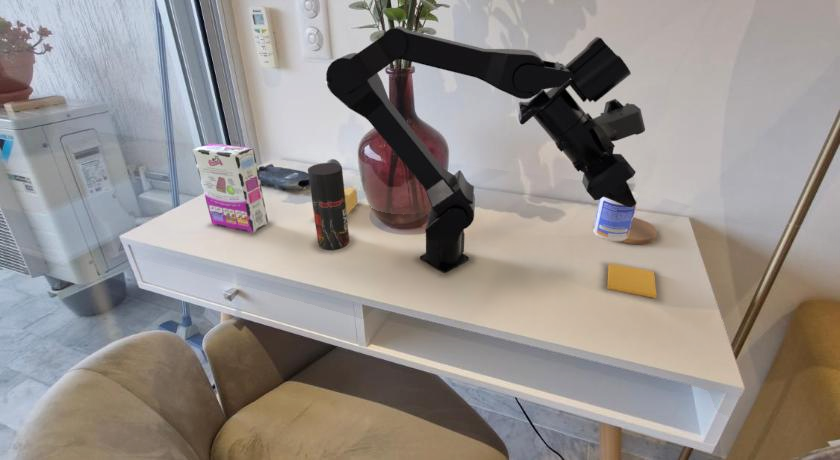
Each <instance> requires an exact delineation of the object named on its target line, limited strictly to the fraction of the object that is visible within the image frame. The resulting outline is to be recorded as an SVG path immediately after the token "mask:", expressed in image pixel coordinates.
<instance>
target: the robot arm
mask: <svg viewBox="0 0 840 460" xmlns="http://www.w3.org/2000/svg"><path fill="white" fill-rule="evenodd" d="M397 60H402V61H407V62H410V63H416V64H419V65H424V66H427V67H431V68H435V69H439V70H444V71H448V72H450V73H455V74H460V75H463V76H464V75H465V76H467V77H472V78H476V79H477V80H480V81H482V82H485V83H486V84H489V85H490V86H491V87H493V88H496V89H497V90H498V91H502V92H504V93H506V94H507V95H510V96H513V97H515V98H517V99H520V100H523V99H524V100H528V99H530V100H529V101H518V108H519V111H518V116H517V117H518V122H519V124H520V125H525V124H526V123H527V122H528V121H530V120H531V119H532V118H534V120H535V121H536V122H537V123H538V124H539V126H541V128H542V129H543V130H544V131H545V133H546V134H547V135H548V136H549V137H550V139H551V140H552V141H553V142H554V145H555V146H556V147H557V149H558V150H559V151H560V152H561V153H563V154H564V155H565V156H566V157H567V158H568V159H569V161H570V162H571V164H572V166H573V167H574V169H575V170H576V171H577V172H578V173H579V172H582V173H583V176H582V181H581V182H582V185H583V187H584V189H585V191H586V192H587V194H589V196H590V197H591V198H592V199H593V201H599V200H600V199H601V198H603V197H605V198H608V199H610V200H613V201H615V202H618V203H620V204H622V205H625V206H627V207H632V206H634V205H636V206H637V204H636V201H635V199H634V197H633V194H632V192H631V190H630V188H629V186H628V184H627V180H629V179H630V178H632V177H634V176H635V174H636V173H637V172H636V170H635V169H634V168H633V167H632V165H631V164H630V163H629V162H628V160H627V159H626V158H625V157H624V155H623V154H622V153H614V150H615V147H616V145H615V144H614V142H617V141H620V140H623V139H626V138H628V137H631V136H634V135H636V136H638V135H640V134H643V133H644V132H645V131H646V126H645V122H644V119H643V114H642V109H641V107H638V106H637V105H636V104H634V103H629V102H627V103H625V105H623V104H622V103H621V102H620V101H619V100H618V99H616V98H613V99H611V100H609V101H606V102H605V104H604V109H603V112H601V113H600V115H599V116H596V117H594V118H593V117H592V116H591V115H590V113H589V112H587V113H586V112H585V111H584V109H583V108H582V106H580V104H578V102H577V101H576V100H575V98H574V97H573V96H572V95H571V94H570V92H569V91H568V90H567V88H569V87H570V88H571V89H572V90H573V92H574V93H575V94H576V95H577V96H578V97H579V99H580V100H581V101H582V102H583V103H585V102H587V101H588V102H589V103H592V101H593V103H597V102H598V101H599V100H601V99H602V98H603V97H604V96H606V95H607V94H608V93H609V92H611V91H612V90H613V89H614V88H615V87H618V85H619V84H621V83H622V82H623V81H624V80H625V79H627V78H628V77H630V75H632V73H631V70H630V69H629V67H628V65H627V64H626V62H625V61H624V60H623V58H621V56H620V55H618V54H616V53H615V52H614V51H613V50H612V49H611V47H610V46H608V44H606V42H605V41H604V40H603V38H601V37H600V36H596V37H594V38H593V39H592V40H591V41H590V42H588V44H587V45H586V46H585V48H583V50H581V51H580V52H579V53H578V54H577V55H575V57H573V58H572V59H571V60H570V61H569V62H567V64H564V63H560V62H559V61H555V62H554V61H550V60H549V61H548V60H543V58H541V56H540V55H539V54H537V52H535V51H532V50H530V49H514V48H484V47H483V48H482V47H479V46H475V45H471V44H468V43H467V44H466V43H462V42H459V41H454V40H451V39H447V38H442V37H438V36H434V35H430V34H427V33H422V32H418V31H413V30H410V29H408V28H406V27H404V26H395V27H392V28H389V29H387V30H386V31H385V32H383V35H382V36H381V37H379V38H378V39H376V40H375V41H373V42H371V43H370V44H368V45H367V46H366V47H364V48H363V49H362V50H360V51H359V52H352V53H348V54H345V55H343V56H341V57H338V58H337V59H335V60H333V61H332V62H330V64H329V66H328V67H327V70H326V73H325V75H326V76H325V77H326V78H325V79H326V80H325V83H326V87H327V88H328V90H329V92H330V93H331V94H332V95H333V97H334V96H335V98H336V99H337V100H339V101H340V102H341V103H342V104H343V105H344V106H346V107H347V108H348V109H349V110H351V111H353V112H354V113H356V114H358V115H359V116H361V117H363V118H365V119H366V120H367V121H368V122H369V123H370V124H371V126H372V127H373V128H374V130H375V131H377V134H379V135H380V136H381V138H382V140H384V142H385V143H386V144H387V145H388V146H389V147H390V149H391V150H392V151H393V153H394V154H395V155H396V157H398V158H399V160H400V161H401V162H402V163H403V165H404V166H405V167H406V168H407V169H408V170H409V172H410V173H411V174H412V175H413V177H414V178H415V179H416V181H418V183H419V184H420V185H421V186H422V188H423V189H424V190H425V193H426V197H427V198H428V202H429V203H430V206H431V207H430V211H429V213H428V214H429V215H428V218H427V221H426V222H427V223H426V226H425V230H424V232H425V253H424V254H421V255H420V256H419V260H420V261H422V262H424V263H425V264H427V265H429V266H431V267H432V268H433V269H435V270H437V271H439V272H441V273H443V274H446V273H449V272H450V271H452V270H454V269H457V268H458V267H460V266H461V265H463V264H465V263H467V262H469V261H470V256H468V255H466V254H465V237H466V236H465V229H468V228H469V227H470V226H471V225H472V224H473V222H474V218H475V212H476V211H475V210H476V209H475V208H476V207H475V206H476V195H475V185H473V184H471V183H470V182H469V181H468V180H467V179H466V176H465V175H464V173H463V172H462V170H460V169H459V170H458V171H456V172H455V174H453V173H452V172H449V171H448V170H446V169H445V168H444V167H443V166H442V164H441V163H440V162H439V161H438V160H437V159H436V157H435V156H434V154H432V151H430V149H429V148H428V147H427V146H426V145H425V143H424V142H423V141H422V139H421V138H420V137H419V136H418V135H417V133H416V132H415V131H414V129H413V128H412V127H411V125H409V123H408V122H407V120H406V119H405V118H404V117H403V115H402V114H401V113H400V112H399V111H398V109H397V108H396V106H395V105H394V104H393V103H392V102H391V100H390V97H389V96H388V94H387V91H386V88H385V86H384V83H383V81H382V78H381V76H380V75H379V72H382V70H384V69H385V68H386V67H388V66H390V65H391V64H392V63H394V62H395V61H397ZM548 89H549V90H548ZM546 90H548V91H546Z"/></svg>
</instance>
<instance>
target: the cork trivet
mask: <svg viewBox="0 0 840 460" xmlns="http://www.w3.org/2000/svg"><path fill="white" fill-rule="evenodd" d="M657 235H658V230H657V228H656V227H655V226H654V225H653V224H651V223H650V222H648V221H646V220H643V219H640V218H637V217H633V220H632V224H631V228H630V232H629V235H628V237H627V239H625V240H623V241H619V242H620V243H624V244H629V245H646V244H647V245H648V244H650V243H653V242H654V241H655V240H656V238H657Z"/></svg>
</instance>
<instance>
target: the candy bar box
mask: <svg viewBox="0 0 840 460" xmlns="http://www.w3.org/2000/svg"><path fill="white" fill-rule="evenodd" d="M192 153H193V157H194V161H195V165H196V169H197V172H198V176H199V179H200V183H201V188H202V191H203V195H204V198H205V202H206V206H207V209H208V213H209V217H210V221H211V224H212V225H213V226H216V227H220V228H221V227H222V228H227V229H231V230H236V231H240V232H245V233H246V232H247V233H251V234H254V233H257V232H258V231H259V230H261V229H263V228H264V227H266V226H267V225H269V218H268V214H267V210H266V208H267V207H266V203H265V199H264V193H263V189H262V184H260V178H259V173H258V169H259V167H258V163H257V159H256V158H257V157H256V154H255V149H254V148H253V147H246V146H237V145H231V144H222V143H221V144H220V143H213V142H212V143H207V144H204V145H201V146H198V147H195V148H193V149H192Z"/></svg>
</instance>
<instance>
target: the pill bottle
mask: <svg viewBox="0 0 840 460" xmlns="http://www.w3.org/2000/svg"><path fill="white" fill-rule="evenodd" d="M637 181H638V180H637V179H636V178H635V177H634V176H633V177H632V178H630V179H629V180H627V184H628V186H629V188H630V190H631V192H632V194H633V197H634V199H635V201H636V205H634V206H632V207H627V206H625V205H622V204H620V203H618V202H615V201H613V200H610V199H608V198H605V197H603V198H601V199H600V200H598V204H597V210H596V214H595V219H594V224H593V233H594V234H595V235H596V237H598V238H600V239H602V240H605V241H610V242H620V241H623V240H625V239H627V237H628V235H629V232H630V228H631V224H632V220H633V218H634V216H635V211H636V207H637V203H638V199H639V196H638V194H637V192H636V191H634V190H636V186H637V183H638V182H637Z"/></svg>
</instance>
